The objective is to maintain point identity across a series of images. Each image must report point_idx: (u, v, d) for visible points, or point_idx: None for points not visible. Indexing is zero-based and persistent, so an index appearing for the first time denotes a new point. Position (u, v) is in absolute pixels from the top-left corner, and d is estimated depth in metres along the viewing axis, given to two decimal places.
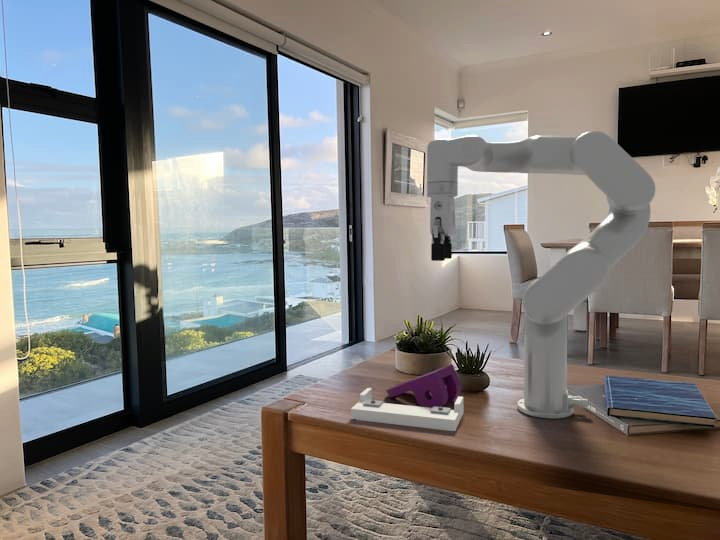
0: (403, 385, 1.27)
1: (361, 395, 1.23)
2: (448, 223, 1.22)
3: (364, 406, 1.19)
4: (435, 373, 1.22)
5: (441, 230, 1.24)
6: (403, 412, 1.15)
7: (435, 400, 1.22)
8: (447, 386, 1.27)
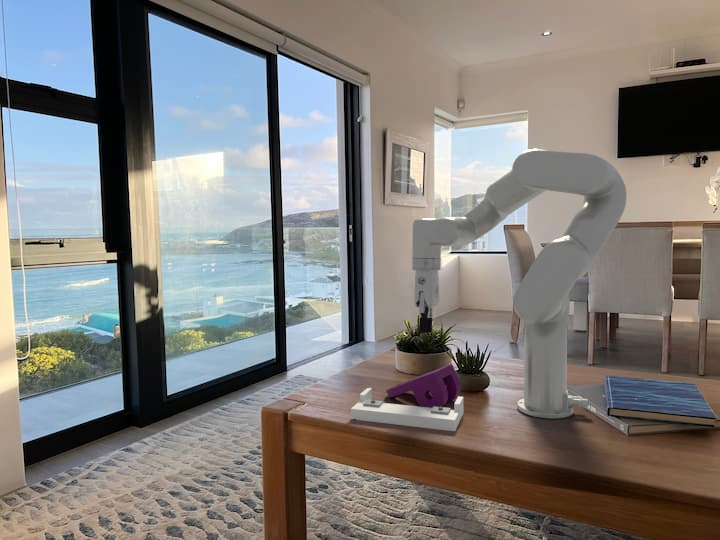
0: (403, 385, 1.27)
1: (361, 395, 1.23)
2: (431, 297, 1.32)
3: (364, 406, 1.19)
4: (435, 373, 1.22)
5: None
6: (403, 412, 1.15)
7: (435, 400, 1.22)
8: (447, 386, 1.28)
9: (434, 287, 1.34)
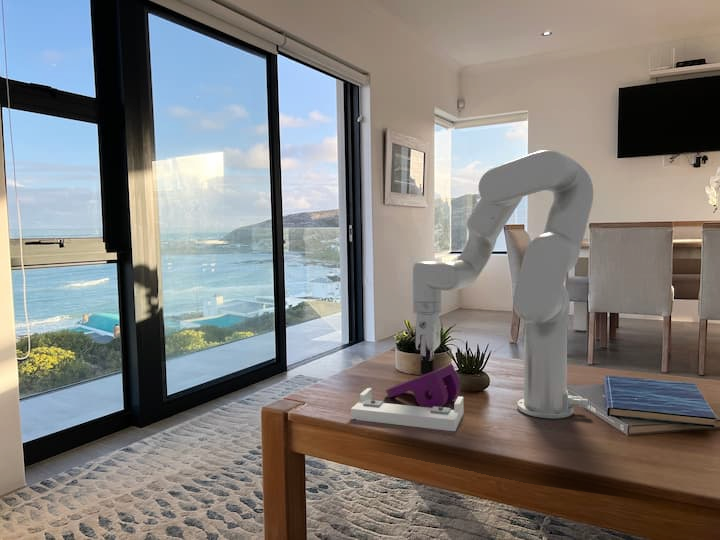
0: (403, 385, 1.27)
1: (361, 395, 1.23)
2: (432, 341, 1.33)
3: (364, 406, 1.19)
4: (435, 373, 1.22)
5: None
6: (403, 412, 1.15)
7: (435, 400, 1.22)
8: (447, 386, 1.28)
9: (435, 330, 1.35)
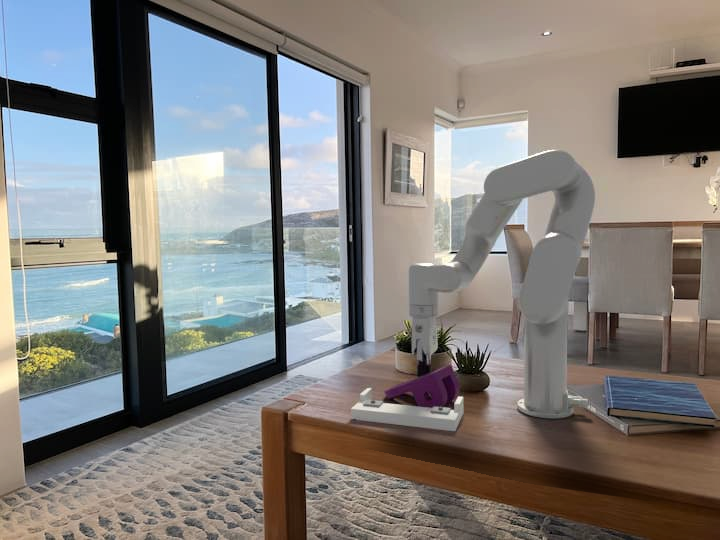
0: (402, 386, 1.26)
1: (361, 395, 1.23)
2: (428, 345, 1.29)
3: (364, 406, 1.19)
4: (434, 374, 1.21)
5: None
6: (403, 412, 1.15)
7: (434, 401, 1.21)
8: (446, 387, 1.27)
9: (432, 334, 1.30)
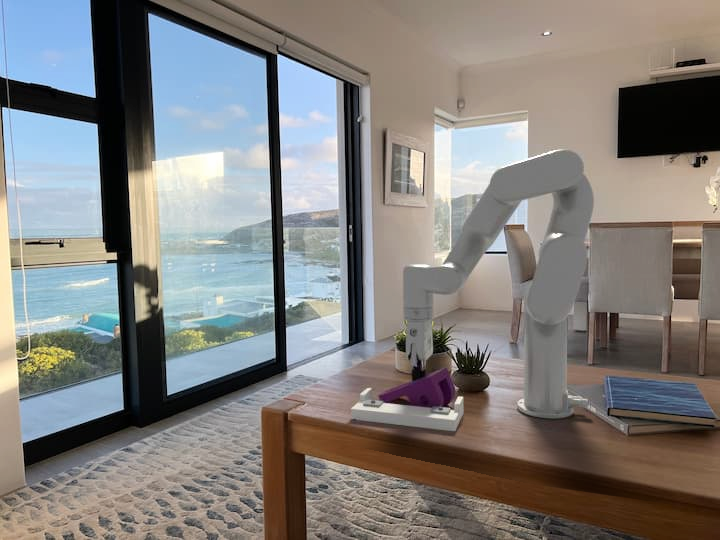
0: (397, 390, 1.23)
1: (361, 395, 1.23)
2: (423, 350, 1.23)
3: (364, 406, 1.19)
4: (431, 377, 1.18)
5: None
6: (403, 412, 1.15)
7: (431, 405, 1.18)
8: (441, 390, 1.24)
9: (427, 338, 1.25)
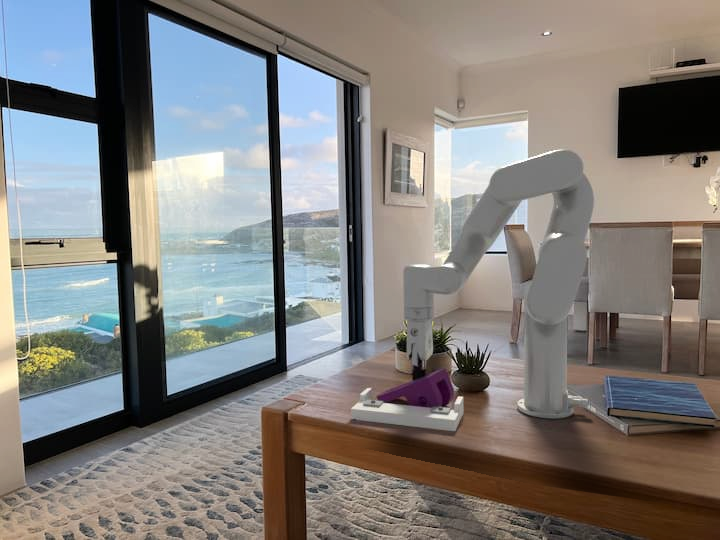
0: (395, 391, 1.23)
1: (361, 395, 1.23)
2: (424, 350, 1.24)
3: (364, 406, 1.19)
4: (429, 378, 1.18)
5: None
6: (403, 412, 1.15)
7: (429, 406, 1.18)
8: (440, 391, 1.24)
9: (427, 338, 1.26)
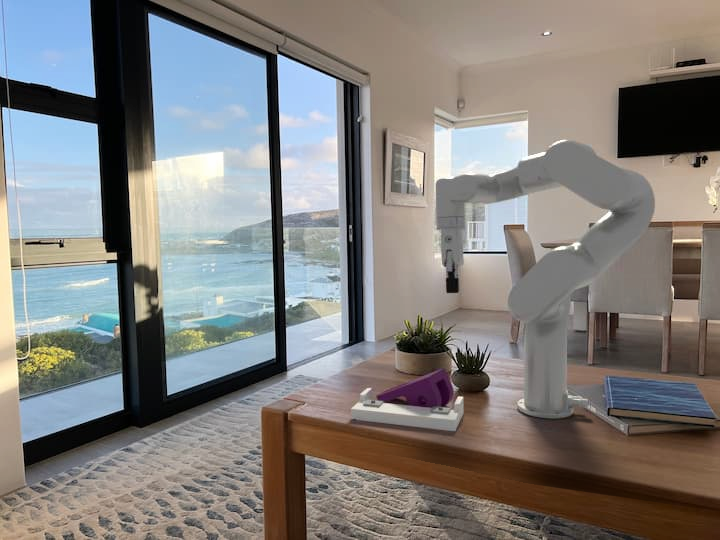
0: (395, 391, 1.23)
1: (361, 395, 1.23)
2: (458, 255, 1.31)
3: (364, 406, 1.19)
4: (429, 378, 1.18)
5: None
6: (403, 412, 1.15)
7: (428, 406, 1.18)
8: (439, 391, 1.24)
9: (460, 245, 1.33)
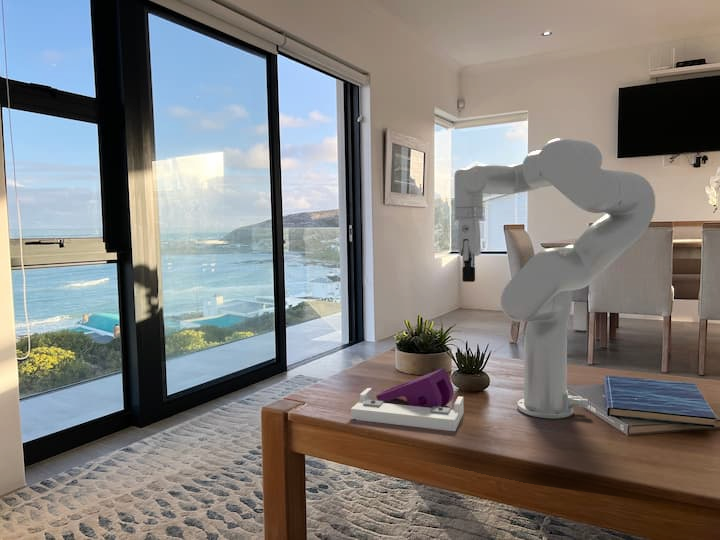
0: (395, 390, 1.23)
1: (361, 395, 1.23)
2: (475, 244, 1.34)
3: (364, 406, 1.19)
4: (429, 378, 1.18)
5: None
6: (403, 412, 1.15)
7: (429, 405, 1.18)
8: (439, 390, 1.24)
9: (477, 235, 1.36)
